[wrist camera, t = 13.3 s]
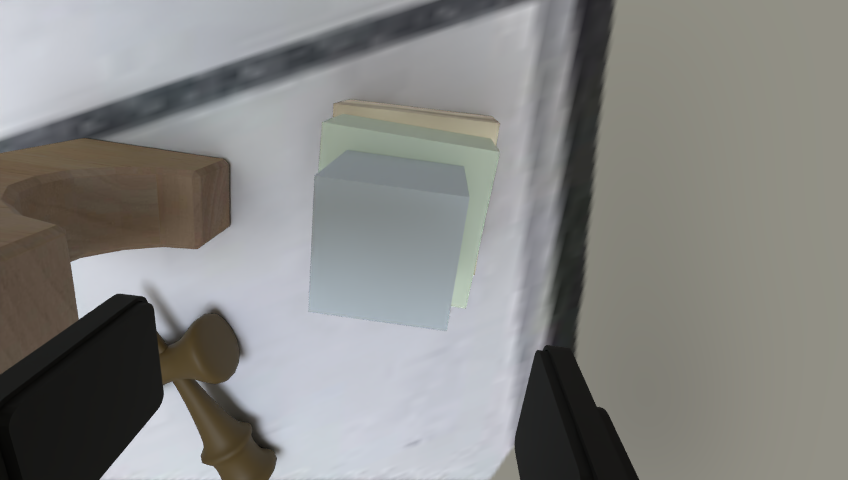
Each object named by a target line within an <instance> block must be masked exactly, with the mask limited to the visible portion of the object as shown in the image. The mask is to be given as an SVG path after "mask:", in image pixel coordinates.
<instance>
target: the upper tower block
mask: <svg viewBox="0 0 848 480" xmlns="http://www.w3.org/2000/svg"><path fill="white" fill-rule="evenodd" d="M346 150H351V151H358V152H365V153H373V154H380V155H387V156H394V157H401V158H409V159H416V160H423V161H430V162H437V163H444V164H452V165H459V166H464V169H465V174H466V180H467V186H468V191H469V197H470V198H469V204H468V209H467V215H466V221H465V227H464V233H463V238H462V244H461V250H460V256H459V262H458V268H457V273H456V279H455V285H454V291H453V297H452V303H451V306H452V307H459V308H465V309H466V306H467V301H468V297H469V292H470V287H471V283H472V278H473V274H474V269H475V264H476V260H477V255H478V251H479V246H480V241H481V237H482V232H483V228H484V223H485V218H486V214H487V209H488V205H489V200H490V195H491V191H492V186H493V182H494V177H495V172H496V168H497V163H498V159H499V154H500V151H499V150H498V148H497V147H496V146H495V144H494V143H493V141H492V140H491V138H485V137H479V136H473V135H467V134H461V133H455V132H449V131H443V130H437V129H431V128H426V127H420V126H414V125H408V124H402V123H396V122H390V121H384V120H378V119H372V118H366V117H360V116H354V115H348V114H341V115H339V116H336V117H334V118H331V119H329V120H326V121H324V122H322V130H321V143H320V156H319V169H318V173H319V172H320V171H321V170H322V169H324V168H325V167H326V166H327V165H329V164H330V163H331V162H332V161H334V160H335V159H336V158H337V157H339V156H340V155H341V154H342V153H344V152H345V151H346Z"/></svg>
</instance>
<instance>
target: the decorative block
mask: <svg viewBox="0 0 848 480" xmlns="http://www.w3.org/2000/svg"><path fill="white" fill-rule="evenodd" d="M229 226H230V216H229V164H228V163H227V162H226V161H225V160H224V159H220V158H214V157H207V156H200V155H194V154H187V153H181V152H174V151H167V150H161V149H154V148H147V147H141V146H134V145H127V144H120V143H114V142H107V141H100V140H93V139H87V138H82V139H76V140H71V141H65V142H60V143H54V144H49V145H43V146H37V147H32V148H26V149H21V150H15V151H10V152H5V153H0V374H2V373H3V372H5V371H6V370H7V369H9V368H10V367H12V366H13V365H15V364H16V363H18V362H19V361H20V360H22V359H23V358H25V357H26V356H28V355H29V354H30V353H32V352H33V351H35V350H36V349H38V348H39V347H41V346H42V345H43V344H45V343H46V342H48V341H49V340H51V339H52V338H53V337H55V336H56V335H58V334H59V333H61V332H62V331H64V330H65V329H66V328H68V327H69V326H71V325H72V324H74V323H75V322H76V321H78V320H79V318H78V312H77V305H76V298H75V291H74V284H73V277H72V271H71V264H70V262H71V261H74V260H77V259H79V258H83V257H88V256H93V255H99V254H104V253H109V252H115V251H120V250H129V249H142V248H155V247H172V248H188V249H198V248H200V247H201V246H203V245H204V244H205V243H207V242H208V241H210V240H211V239H212V238H214V237H215V236H217V235H218V234H219V233H221V232H222V231H224V230H225V229H226V228H227V227H229Z"/></svg>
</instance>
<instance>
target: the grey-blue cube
mask: <svg viewBox="0 0 848 480" xmlns="http://www.w3.org/2000/svg"><path fill="white" fill-rule="evenodd" d="M469 198H470V197H469V191H468V186H467V180H466V174H465V169H464V166H459V165H452V164H444V163H437V162H430V161H423V160H416V159H409V158H401V157H394V156H387V155H380V154H373V153H365V152H358V151H351V150H346V151H345V152H344V153H342V154H341V155H340V156H339V157H337V158H336V159H335V160H334V161H332V162H331V163H330V164H329V165H327V166H326V167H325V168H324V169H322V170H321V171H320V172H319V173H317V174H316V175H315V177H314V199H313V221H312V243H311V266H310V288H309V310H308V312H313V313H320V314H327V315H334V316H341V317H349V318H356V319H363V320H370V321H377V322H385V323H392V324H399V325H406V326H413V327H421V328H428V329H435V330H442V331H447V326H448V320H449V314H450V308H451V303H452V297H453V291H454V285H455V279H456V273H457V268H458V262H459V256H460V250H461V244H462V238H463V233H464V227H465V221H466V215H467V209H468V204H469Z"/></svg>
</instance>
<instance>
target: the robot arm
mask: <svg viewBox="0 0 848 480" xmlns="http://www.w3.org/2000/svg"><path fill="white" fill-rule="evenodd" d="M163 395H164V391H163V382H162V374H161V365H160V357H159V348H158V340H157V332H156V323H155V315H154V308H153V306H152V304H150V303H148V301H147V300H146V298H144V297H143V296H135V295H126V294H116V295H114V296H112V297H111V298H109V299H108V300H107V301H105V302H104V303H102V304H101V305H99V306H98V307H97V308H95V309H94V310H92V311H91V312H89V313H88V314H86V315H85V316H84V317H82V318H81V319H79V320H78V321H76V322H75V323H74V324H72V325H71V326H69V327H68V328H66V329H65V330H64V331H62V332H61V333H59V334H58V335H56V336H55V337H53V338H52V339H51V340H49V341H48V342H46V343H45V344H43V345H42V346H41V347H39V348H38V349H36V350H35V351H33V352H32V353H30V354H29V355H28V356H26V357H25V358H23V359H22V360H20V361H19V362H18V363H16V364H15V365H13V366H12V367H10V368H9V369H7V370H6V371H5V372H3V373H2V374H0V480H99V479H100V478H101V477H102V476H103V475H104V473H105V472H106V471H107V470H108V469H109V467H110V466H111V465H112V464H113V463H114V461H115V460H116V459H117V458H118V457H119V455H120V454H121V453H122V452H123V451H124V449H125V448H126V447H127V446H128V445H129V443H130V442H131V441H132V440H133V439H134V437H135V436H136V435H137V434H138V433H139V431H140V430H141V429H142V428H143V427H144V425H145V424H146V423H147V422H148V421H149V419H150V418H151V417H152V416H153V415H154V413H155V412H156V411H157V410H158V408H159V407H160V405H161V403H162V400H163ZM515 453H516V459H517V464H518V470H519V475H520V480H639V478H638V476H637V474H636V472H635V470H634V468H633V466H632V464H631V461H630V459H629V457H628V455H627V453H626V451H625V449H624V447H623V444H622V442H621V440H620V438H619V436H618V434H617V432H616V430H615V427H614V426H613V423H612V421H611V419H610V417H609V415H608V413H607V412H606V410H605V409H603V408H601V407H597V406H596V404H595V402H594V400H593V398H592V395H591V393H590V391H589V388H588V386H587V384H586V382H585V380H584V377H583V375H582V373H581V371H580V368H579V367H578V364H577V362H576V359H575V357H574V355H573V353H572V351H571V349H570V348H566V347H558V346H550V345H546V346H545V347H544V349H543V351H541V350H537V351H536V353H535V356H534V360H533V364H532V368H531V373H530V377H529V381H528V385H527V389H526V393H525V398H524V402H523V406H522V410H521V414H520V418H519V422H518V427H517V431H516V435H515Z"/></svg>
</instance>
